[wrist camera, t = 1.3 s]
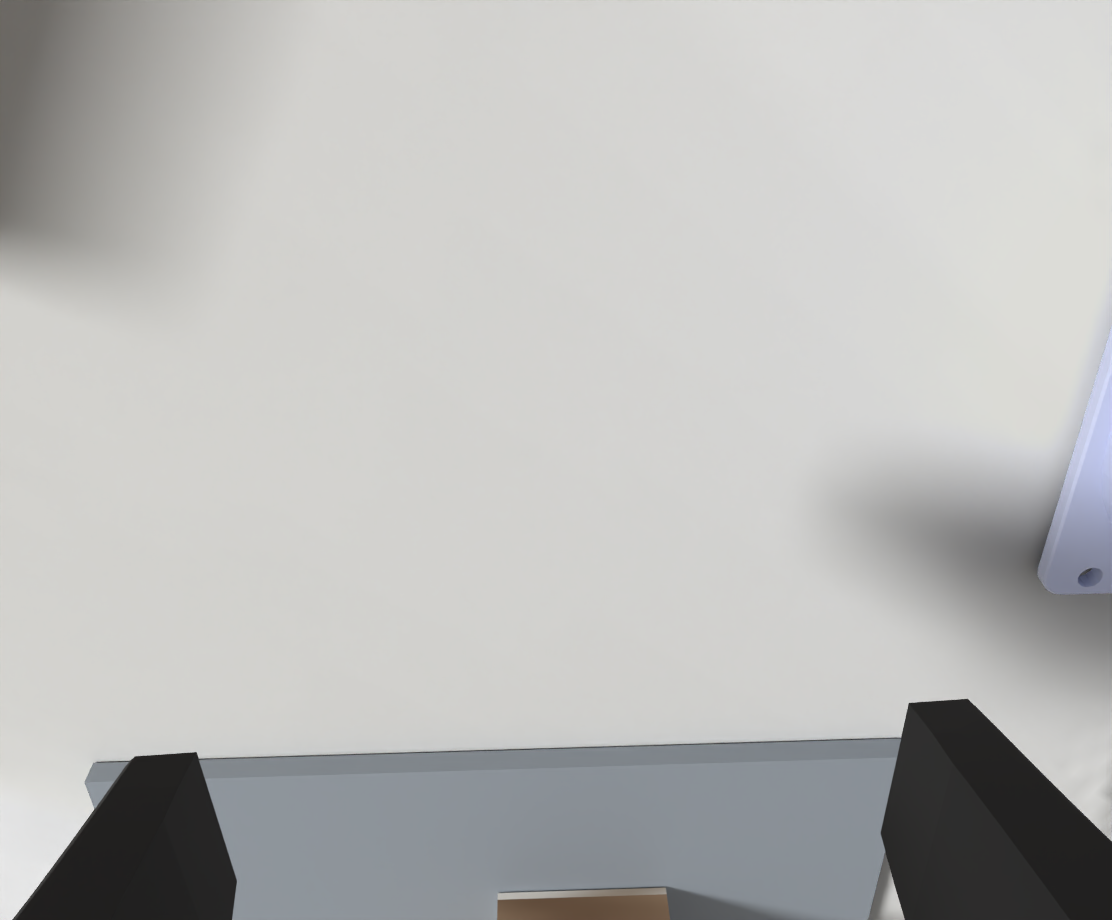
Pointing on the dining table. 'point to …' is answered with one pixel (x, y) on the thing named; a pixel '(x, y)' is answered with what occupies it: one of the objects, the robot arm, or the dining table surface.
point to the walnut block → (585, 905)
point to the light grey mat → (554, 829)
